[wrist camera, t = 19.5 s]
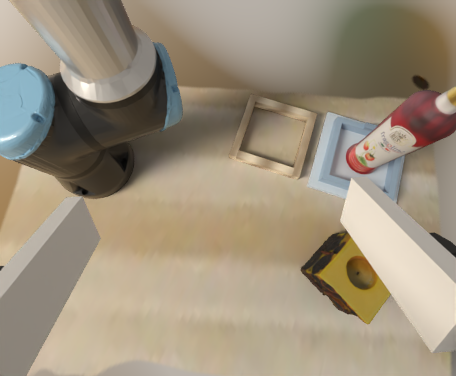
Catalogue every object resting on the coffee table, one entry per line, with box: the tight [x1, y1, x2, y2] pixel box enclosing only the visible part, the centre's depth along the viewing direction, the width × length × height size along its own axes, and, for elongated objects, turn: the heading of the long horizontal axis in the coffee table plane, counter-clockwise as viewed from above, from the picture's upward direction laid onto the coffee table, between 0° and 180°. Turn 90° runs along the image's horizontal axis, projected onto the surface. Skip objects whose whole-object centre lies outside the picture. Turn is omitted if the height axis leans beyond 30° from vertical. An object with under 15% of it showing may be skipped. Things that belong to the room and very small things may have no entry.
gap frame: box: [229, 94, 317, 180], centre depth 52 cm, size 15×15×2 cm
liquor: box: [346, 86, 456, 174], centre depth 38 cm, size 7×7×28 cm
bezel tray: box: [307, 112, 405, 203], centre depth 51 cm, size 18×18×3 cm
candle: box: [301, 232, 391, 324], centre depth 42 cm, size 10×10×10 cm
